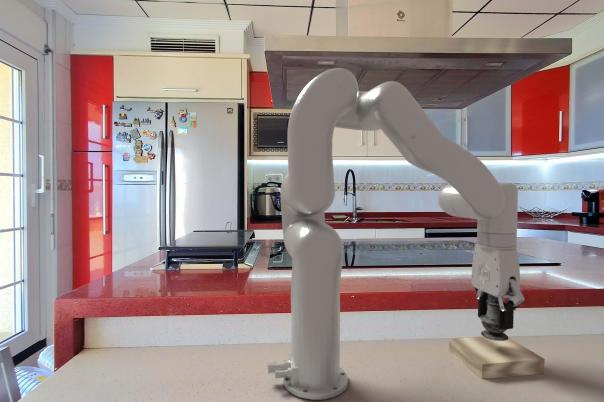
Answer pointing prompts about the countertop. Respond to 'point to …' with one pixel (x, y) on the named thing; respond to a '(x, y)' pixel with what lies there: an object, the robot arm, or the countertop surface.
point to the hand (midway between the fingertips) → (494, 321)
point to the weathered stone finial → (492, 321)
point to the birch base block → (496, 357)
